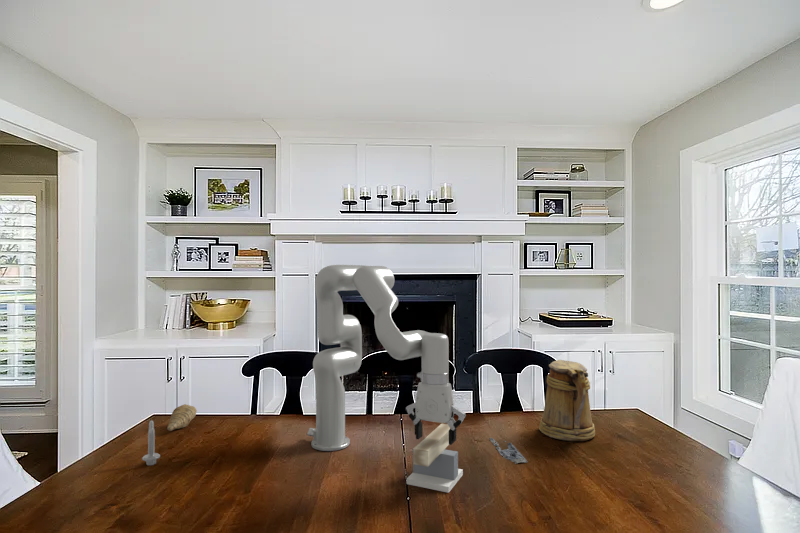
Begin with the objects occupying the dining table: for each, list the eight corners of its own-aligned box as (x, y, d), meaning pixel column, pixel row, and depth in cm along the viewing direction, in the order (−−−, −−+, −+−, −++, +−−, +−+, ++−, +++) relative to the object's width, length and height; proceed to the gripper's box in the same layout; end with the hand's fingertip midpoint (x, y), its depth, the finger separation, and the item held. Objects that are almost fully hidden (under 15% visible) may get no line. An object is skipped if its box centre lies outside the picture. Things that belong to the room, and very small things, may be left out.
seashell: (183, 435, 167) (183, 412, 167) (159, 435, 167) (159, 412, 167) (198, 422, 181) (198, 401, 181) (176, 423, 181) (176, 402, 181)
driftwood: (529, 466, 142) (529, 459, 142) (506, 466, 141) (506, 459, 141) (508, 442, 162) (508, 435, 162) (489, 442, 162) (489, 436, 162)
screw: (156, 459, 146) (162, 463, 142) (139, 463, 142) (145, 468, 139) (156, 416, 146) (162, 420, 143) (139, 420, 142) (145, 423, 139)
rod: (413, 464, 122) (413, 448, 122) (441, 436, 142) (441, 423, 142) (428, 466, 120) (428, 450, 120) (454, 438, 140) (454, 425, 140)
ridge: (406, 484, 128) (406, 454, 128) (423, 467, 139) (423, 440, 139) (448, 492, 123) (448, 461, 123) (462, 474, 134) (462, 446, 134)
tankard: (577, 423, 179) (577, 357, 179) (613, 446, 156) (612, 370, 156) (531, 425, 177) (531, 358, 177) (560, 449, 154) (560, 371, 154)
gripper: (401, 378, 132) (401, 440, 132) (460, 384, 124) (461, 450, 124) (411, 373, 139) (412, 431, 138) (469, 378, 131) (469, 440, 131)
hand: (435, 440), depth 131 cm, fingers open, 9 cm apart
